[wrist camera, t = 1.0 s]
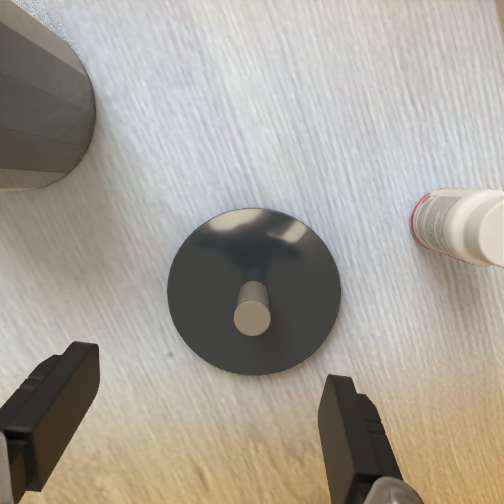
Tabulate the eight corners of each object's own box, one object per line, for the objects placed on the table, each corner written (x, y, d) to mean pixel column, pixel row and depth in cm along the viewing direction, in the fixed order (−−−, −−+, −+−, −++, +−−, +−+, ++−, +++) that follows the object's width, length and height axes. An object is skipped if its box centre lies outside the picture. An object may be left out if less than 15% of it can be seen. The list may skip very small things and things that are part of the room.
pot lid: (196, 184, 28) (178, 184, 22) (362, 237, 28) (390, 251, 22) (152, 341, 30) (125, 380, 24) (305, 387, 31) (316, 437, 24)
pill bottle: (420, 259, 28) (486, 289, 20) (398, 204, 28) (458, 212, 19) (478, 234, 28) (570, 254, 20) (457, 177, 27) (545, 174, 19)
